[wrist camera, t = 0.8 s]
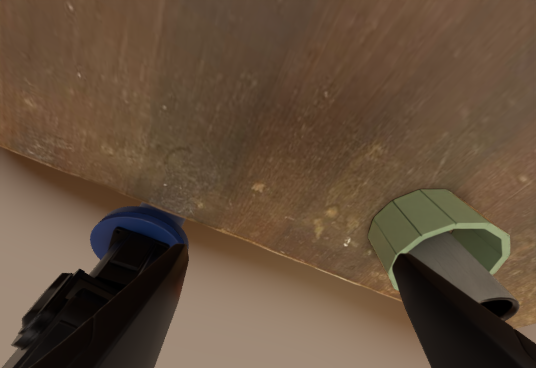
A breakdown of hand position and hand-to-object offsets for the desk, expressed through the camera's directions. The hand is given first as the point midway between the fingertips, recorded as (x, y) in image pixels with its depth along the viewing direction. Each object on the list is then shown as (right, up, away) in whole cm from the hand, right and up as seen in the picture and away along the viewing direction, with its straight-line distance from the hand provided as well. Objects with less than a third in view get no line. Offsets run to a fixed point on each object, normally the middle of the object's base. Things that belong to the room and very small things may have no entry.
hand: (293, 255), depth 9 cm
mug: (+17, -3, +18) cm, 25 cm away
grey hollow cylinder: (+17, -2, +17) cm, 24 cm away
